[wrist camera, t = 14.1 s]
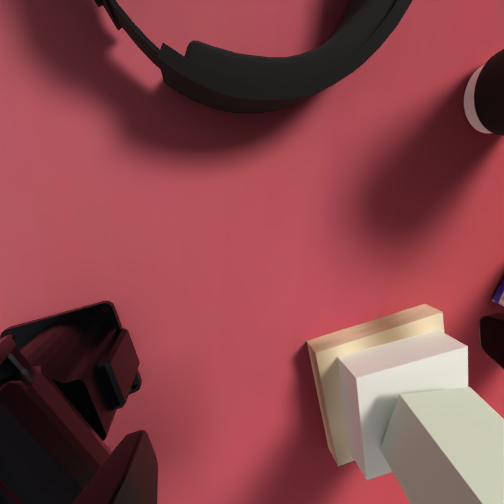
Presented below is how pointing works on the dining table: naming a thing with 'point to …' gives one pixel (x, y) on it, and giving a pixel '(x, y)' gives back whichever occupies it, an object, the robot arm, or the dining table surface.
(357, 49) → the headphones
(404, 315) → the tower base slab
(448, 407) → the tall block
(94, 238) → the dining table surface
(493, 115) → the dixie cup
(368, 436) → the tower top slab
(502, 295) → the supplement box
